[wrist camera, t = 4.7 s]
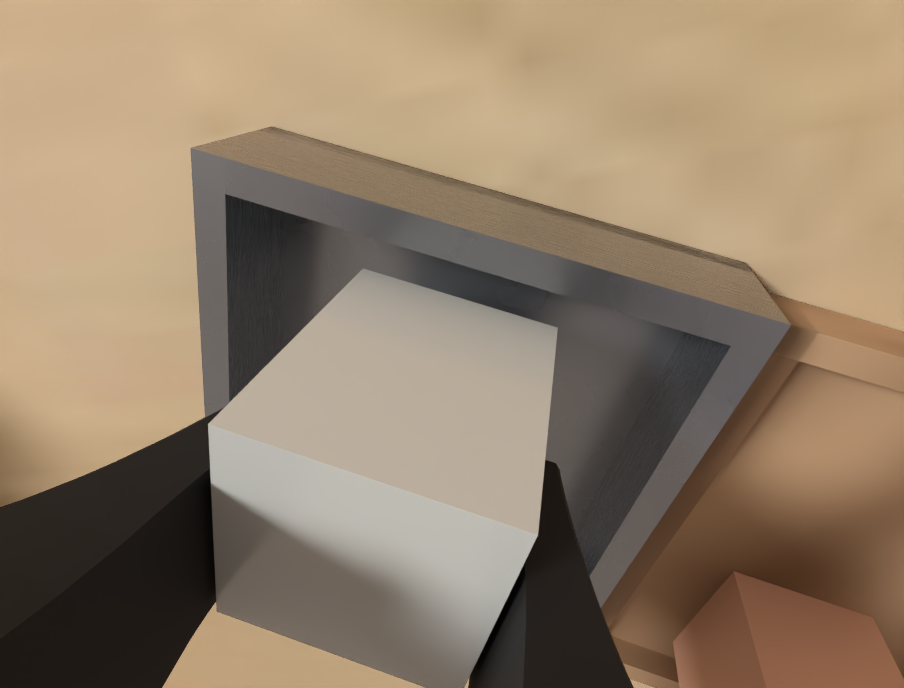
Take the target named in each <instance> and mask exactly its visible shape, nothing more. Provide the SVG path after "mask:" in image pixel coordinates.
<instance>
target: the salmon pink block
mask: <svg viewBox="0 0 904 688" xmlns="http://www.w3.org/2000/svg"><path fill="white" fill-rule="evenodd" d="M673 646H674V653H675V660H676V667H677V674H678V681H679V688H904V679H903V677H902V675H901V673H900V671H899V669H898V667H897V665H896V663H895V661H894V659H893V657H892V655H891V653H890V651H889V649H888V647H887V645H886V642H885V640H884V638H883V636H882V634H881V632H880V630H879V628H878V626H877V624H876V622H875V620H874V618H873V617H870V616H867V615H864V614H861V613H858V612H855V611H852V610H849V609H846V608H843V607H840V606H837V605H834V604H831V603H828V602H825V601H822V600H819V599H816V598H813V597H810V596H807V595H804V594H801V593H798V592H795V591H792V590H789V589H786V588H783V587H780V586H777V585H774V584H771V583H768V582H765V581H762V580H759V579H756V578H753V577H750V576H747V575H744V574H741V573H738V572H735V571H733V573H732V574H731V575H730V576H729V577H728V578H727V580H726V581H725V582H724V583H723V584H722V585H721V587H720V588H719V589H718V590H717V591H716V592H715V593H714V595H713V596H712V597H711V598H710V599H709V600H708V602H707V603H706V604H705V605H704V606H703V607H702V609H701V610H700V611H699V612H698V613H697V614H696V615H695V617H694V618H693V619H692V620H691V621H690V622H689V624H688V625H687V626H686V627H685V628H684V629H683V631H682V632H681V633H680V634H679V635H678V636H677V637H676V639H675V640H674V641H673Z"/></svg>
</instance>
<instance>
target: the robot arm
mask: <svg viewBox="0 0 904 688" xmlns="http://www.w3.org/2000/svg"><path fill="white" fill-rule="evenodd" d="M225 407H226V406H225ZM225 407H224V408H225ZM224 408H222V409H220V410H218V411H216V412H214V413H213V414H211V415H209V416H207V417H205V418H203V419H201V420H199V421H197V422H195V423H193V424H192V425H190V426H188V427H186V428H184V429H182V430H180V431H178V432H176V433H174V434H172V435H170V436H168V437H166V438H164V439H162V440H160V441H158V442H156V443H154V444H152V445H150V446H148V447H145V448H143V449H141V450H139V451H137V452H135V453H133V454H131V455H129V456H127V457H124V458H122V459H120V460H118V461H116V462H114V463H111V464H109V465H107V466H105V467H102V468H100V469H98V470H96V471H93V472H91V473H89V474H86V475H84V476H81V477H79V478H77V479H74V480H72V481H69V482H67V483H64V484H62V485H59V486H56V487H54V488H51V489H49V490H46V491H44V492H41V493H39V494H36V495H33V496H31V497H28V498H25V499H23V500H20V501H17V502H14V503H11V504H8V505H5V506H3V507H0V688H162V687H163V685H164V683H165V682H166V680H167V678H168V677H169V675H170V673H171V671H172V670H173V668H174V666H175V665H176V663H177V661H178V659H179V658H180V656H181V654H182V653H183V651H184V649H185V647H186V646H187V644H188V642H189V641H190V639H191V638H192V636H193V635H194V633H195V631H196V630H197V628H198V627H199V625H200V624H201V622H202V621H203V619H204V618H205V616H206V615H207V613H208V612H209V610H210V609H211V608H212V606H213V605H214V603H215V602H216V584H215V563H214V541H213V520H212V498H211V477H210V455H209V434H208V424H209V423H210V422H211V421H212V420H213V419H214V418H215V417H216V416H217V415H218V414H219V413H220V412H221V411H222V410H223V409H224ZM468 688H634V687H633V685H632V683H631V681H630V679H629V676H628V674H627V672H626V669H625V667H624V665H623V662H622V660H621V658H620V655H619V653H618V651H617V648H616V646H615V643H614V641H613V638H612V636H611V633H610V631H609V628H608V626H607V623H606V620H605V618H604V615H603V613H602V610H601V608H600V605H599V602H598V599H597V597H596V594H595V591H594V588H593V585H592V582H591V579H590V576H589V573H588V570H587V567H586V564H585V561H584V558H583V555H582V552H581V549H580V546H579V543H578V540H577V536H576V533H575V529H574V526H573V522H572V519H571V515H570V512H569V508H568V504H567V500H566V496H565V492H564V488H563V483H562V479H561V474H560V469H559V468H558V466H557V464H556V463H554V462H551V461H548V460H545V467H544V478H543V488H542V499H541V510H540V520H539V531H538V536H537V538H536V540H535V542H534V544H533V546H532V549H531V551H530V553H529V555H528V557H527V559H526V561H525V563H524V565H523V567H522V569H521V571H520V573H519V575H518V577H517V579H516V582H515V584H514V586H513V588H512V590H511V592H510V594H509V596H508V598H507V600H506V602H505V604H504V606H503V608H502V610H501V612H500V615H499V617H498V619H497V621H496V623H495V625H494V627H493V629H492V631H491V633H490V635H489V637H488V639H487V641H486V643H485V645H484V648H483V650H482V652H481V654H480V656H479V658H478V660H477V662H476V664H475V666H474V668H473V670H472V672H471V674H470V678H469V687H468Z"/></svg>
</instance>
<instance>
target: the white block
mask: <svg viewBox="0 0 904 688" xmlns="http://www.w3.org/2000/svg"><path fill="white" fill-rule="evenodd" d="M557 331H558V328H557V327H554V326H551V325H547V324H544V323H541V322H537V321H534V320H531V319H528V318H524V317H521V316H518V315H514V314H511V313H508V312H505V311H501V310H498V309H495V308H491V307H488V306H485V305H482V304H478V303H475V302H472V301H468V300H465V299H462V298H459V297H455V296H452V295H449V294H445V293H442V292H439V291H436V290H432V289H429V288H426V287H422V286H419V285H416V284H413V283H409V282H406V281H403V280H399V279H396V278H393V277H390V276H386V275H383V274H380V273H376V272H373V271H370V270H367V269H362V270H361V271H360V272H359V273H358V274H357V275H356V276H355V277H354V278H353V279H352V280H351V281H350V282H349V283H348V284H347V285H346V286H345V287H344V288H343V289H342V290H341V291H340V292H339V293H338V294H337V295H336V296H335V297H334V298H333V299H332V300H331V301H330V302H329V303H328V304H327V305H326V306H325V307H324V308H323V309H322V310H321V311H320V312H319V313H318V314H317V315H316V316H315V317H314V318H313V319H312V320H311V321H310V322H309V323H308V324H307V325H306V326H305V327H304V328H303V329H302V330H301V331H300V332H299V333H298V334H297V335H296V336H295V337H294V338H293V339H292V340H291V341H290V342H289V343H288V344H287V345H286V346H285V347H284V348H283V349H282V350H281V351H280V352H279V353H278V354H277V355H276V356H275V357H274V358H273V359H272V360H271V361H270V362H269V363H268V364H267V365H266V366H265V367H264V368H263V369H262V370H261V371H260V372H259V373H258V374H257V375H256V376H255V377H254V378H253V379H252V380H251V381H250V382H249V383H248V385H247V386H246V387H245V388H244V389H243V390H242V391H241V392H240V393H239V394H238V395H237V396H236V397H235V398H234V399H233V400H232V401H231V402H230V403H229V404H228V405H227V406H226V407H225V408H224V409H223V410H222V411H221V412H220V413H219V414H218V415H217V416H216V417H215V418H214V419H213V420H212V421H211V422H210V423H209V424H208V434H209V455H210V477H211V498H212V520H213V541H214V563H215V584H216V606H217V612H220V613H222V614H225V615H228V616H231V617H233V618H236V619H239V620H242V621H244V622H247V623H250V624H253V625H255V626H258V627H261V628H264V629H266V630H269V631H272V632H275V633H277V634H280V635H283V636H286V637H288V638H291V639H294V640H297V641H299V642H302V643H305V644H308V645H310V646H313V647H316V648H319V649H321V650H324V651H327V652H329V653H332V654H335V655H338V656H340V657H343V658H346V659H349V660H351V661H354V662H357V663H360V664H362V665H365V666H368V667H371V668H373V669H376V670H379V671H382V672H384V673H387V674H390V675H393V676H395V677H398V678H401V679H404V680H406V681H409V682H412V683H415V684H417V685H420V686H423V687H426V688H464V687H465V685H466V683H467V681H468V678H469V676H470V674H471V672H472V670H473V668H474V666H475V664H476V662H477V660H478V658H479V656H480V654H481V652H482V650H483V648H484V645H485V643H486V641H487V639H488V637H489V635H490V633H491V631H492V629H493V627H494V625H495V623H496V621H497V619H498V617H499V615H500V612H501V610H502V608H503V606H504V604H505V602H506V600H507V598H508V596H509V594H510V592H511V590H512V588H513V586H514V584H515V582H516V579H517V577H518V575H519V573H520V571H521V569H522V567H523V565H524V563H525V561H526V559H527V557H528V555H529V553H530V551H531V549H532V546H533V544H534V542H535V540H536V538H537V536H538V531H539V520H540V510H541V499H542V488H543V478H544V467H545V457H546V446H547V436H548V425H549V415H550V404H551V394H552V383H553V373H554V362H555V352H556V341H557Z"/></svg>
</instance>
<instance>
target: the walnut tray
mask: <svg viewBox="0 0 904 688" xmlns="http://www.w3.org/2000/svg"><path fill="white" fill-rule="evenodd" d="M768 294H769V295H770V296H771V298H772V299H773V301H774V302H775V303H776V305H777V306H778V307H779V309H780V310H781V312H782V313H783V314H784V316H785V317H786V318H787V320H788V321H789V322H790V324H791V326H790V328H789V329H788V331H787V332H786V334H785V335H784V337H783V338H782V340H781V341H780V343H779V344H778V346H777V347H776V349H775V350H774V351H773V353H772V354H771V356H770V357H769V359H768V360H767V362H766V363H765V365H764V366H763V368H762V369H761V371H760V372H759V374H758V375H757V377H756V378H755V380H754V381H753V383H752V384H751V386H750V387H749V389H748V390H747V392H746V393H745V395H744V396H743V398H742V399H741V401H740V402H739V404H738V405H737V406H736V408H735V409H734V411H733V412H732V414H731V415H730V417H729V418H728V420H727V421H726V423H725V424H724V426H723V427H722V429H721V430H720V432H719V433H718V435H717V436H716V438H715V439H714V441H713V442H712V444H711V445H710V447H709V448H708V450H707V451H706V453H705V454H704V456H703V457H702V458H701V460H700V461H699V463H698V464H697V466H696V467H695V469H694V470H693V472H692V473H691V475H690V476H689V478H688V479H687V481H686V482H685V484H684V485H683V487H682V488H681V490H680V491H679V493H678V494H677V496H676V497H675V499H674V500H673V502H672V503H671V505H670V506H669V508H668V509H667V511H666V512H665V513H664V515H663V516H662V518H661V519H660V521H659V522H658V524H657V525H656V527H655V528H654V530H653V531H652V533H651V534H650V536H649V537H648V539H647V540H646V542H645V543H644V545H643V546H642V548H641V549H640V551H639V552H638V554H637V555H636V557H635V558H634V560H633V561H632V563H631V564H630V565H629V567H628V568H627V570H626V571H625V573H624V574H623V576H622V577H621V579H620V580H619V582H618V583H617V585H616V586H615V588H614V589H613V591H612V592H611V594H610V595H609V597H608V598H607V600H606V601H605V603H604V604H603V606H602V607H601V610H602V613H603V615H604V618H605V620H606V623H607V626H608V628H609V631H610V633H611V636H612V638H613V641H614V643H615V646H616V648H617V651H618V653H619V655H620V658H621V660H622V662H623V665H624V667H625V669H626V672H627V674H628V676H629V679H632V680H635V681H638V682H640V683H643V684H646V685H649V686H652V687H655V688H679V681H678V674H677V667H676V660H675V653H674V646H673V641H674V640H675V639H676V637H677V636H678V635H679V634H680V633H681V632H682V631H683V629H684V628H685V627H686V626H687V625H688V624H689V622H690V621H691V620H692V619H693V618H694V617H695V615H696V614H697V613H698V612H699V611H700V610H701V609H702V607H703V606H704V605H705V604H706V603H707V602H708V600H709V599H710V598H711V597H712V596H713V595H714V593H715V592H716V591H717V590H718V589H719V588H720V587H721V585H722V584H723V583H724V582H725V581H726V580H727V578H728V577H729V576H730V575H731V574H732V573H733V571H735V572H738V573H741V574H744V575H747V576H750V577H753V578H756V579H759V580H762V581H765V582H768V583H771V584H774V585H777V586H780V587H783V588H786V589H789V590H792V591H795V592H798V593H801V594H804V595H807V596H810V597H813V598H816V599H819V600H822V601H825V602H828V603H831V604H834V605H837V606H840V607H843V608H846V609H849V610H852V611H855V612H858V613H861V614H864V615H867V616H870V617H873V618H874V620H875V622H876V624H877V626H878V628H879V630H880V632H881V634H882V636H883V638H884V640H885V642H886V645H887V647H888V649H889V651H890V653H891V655H892V657H893V659H894V661H895V663H896V665H897V667H898V669H899V671H900V673H901V675H902V677H903V679H904V332H902V331H898V330H895V329H892V328H888V327H885V326H881V325H878V324H874V323H871V322H868V321H864V320H861V319H857V318H854V317H850V316H847V315H844V314H840V313H837V312H833V311H830V310H826V309H823V308H819V307H816V306H813V305H809V304H806V303H802V302H799V301H795V300H792V299H789V298H785V297H782V296H778V295H775V294H771V293H768Z"/></svg>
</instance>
